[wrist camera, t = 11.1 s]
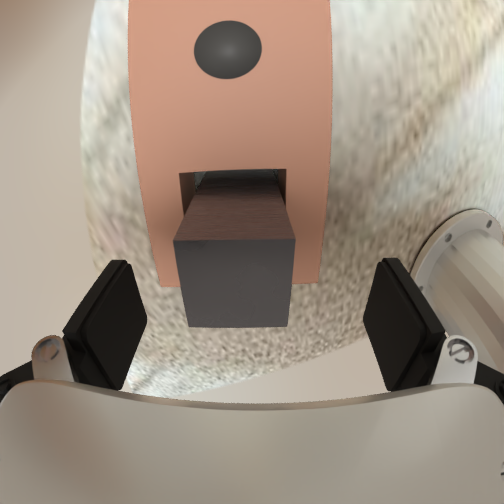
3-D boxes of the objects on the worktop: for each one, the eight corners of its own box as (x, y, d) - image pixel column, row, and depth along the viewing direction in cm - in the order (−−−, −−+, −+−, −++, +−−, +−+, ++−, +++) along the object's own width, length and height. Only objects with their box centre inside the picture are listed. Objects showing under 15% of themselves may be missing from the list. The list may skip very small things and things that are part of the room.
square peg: (209, 166, 18) (172, 240, 9) (270, 165, 18) (295, 238, 9) (212, 222, 20) (188, 327, 11) (269, 221, 20) (287, 326, 11)
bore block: (151, 10, 12) (129, -8, 8) (311, 1, 12) (327, -20, 8) (173, 254, 21) (160, 287, 17) (306, 250, 21) (317, 283, 17)
